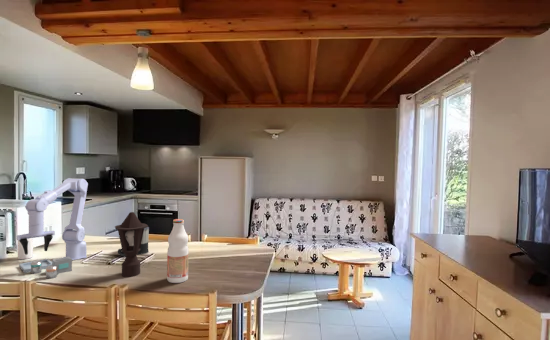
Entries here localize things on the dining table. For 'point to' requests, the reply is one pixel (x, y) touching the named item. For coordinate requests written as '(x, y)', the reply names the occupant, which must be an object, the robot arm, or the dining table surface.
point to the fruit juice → (177, 253)
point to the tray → (27, 266)
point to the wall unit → (63, 264)
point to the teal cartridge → (36, 267)
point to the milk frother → (143, 244)
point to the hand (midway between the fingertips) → (36, 252)
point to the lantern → (131, 243)
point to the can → (21, 251)
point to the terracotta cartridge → (51, 271)
